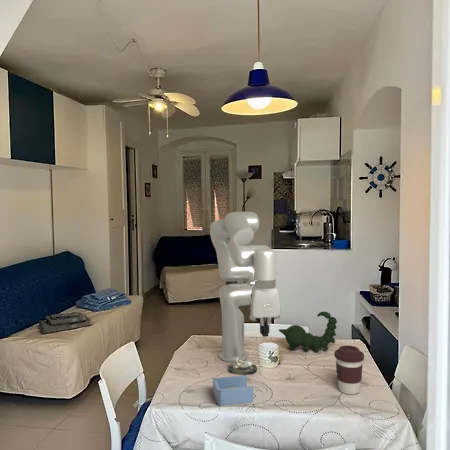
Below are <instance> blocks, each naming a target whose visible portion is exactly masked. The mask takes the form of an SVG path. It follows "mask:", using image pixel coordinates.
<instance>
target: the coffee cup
mask: <svg viewBox="0 0 450 450" xmlns="http://www.w3.org/2000/svg"><path fill="white" fill-rule="evenodd" d="M334 358H335V360H336V361H335V367H336V368H335V370H336V378H337V388H338V391H339V392H341V393H342V394H345V395H352V396H353V395H357V394H359V393H360V391H361V383H362V382H361V381H362V378H363V377H362V376H363V361H364V360H365V354H364V352H363V351H361V350H360V348H359V347H357V346H354V345H341V346H339V348H338V349H335V350H334Z"/></svg>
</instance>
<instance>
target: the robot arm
mask: <svg viewBox="0 0 450 450" xmlns="http://www.w3.org/2000/svg"><path fill="white" fill-rule="evenodd" d="M209 227H210V228H209V234H210V239H211V242H212V245H213V247H214V248H215V252H216V258H217V264H218V265H217V266H218V271H219V276H220V278H221V280H222V281H224V282H238V283H229V284H225V285H223V286H221V287H220V288H219V301H220V306H221V328H222V329H221V338H222V339H221V341H222V350H221V351H220V352H219V353H218V358H219V359H220V360H222V361H224V362H229V363H233V362H235V361H236V360H237V359H238V360H242V361H246V360H247V359H248V358H249V353H248V352H247V351H245V316H244V314H243V312H242V311H241V310H240V308H239V307H242V306H244V307H245V306H249V313H250V314H249V320H251V321H255V322H257V323H258V324H259V333H260V334H261V336H262V337H267V338H268V337H269V334H270V326H271V324H272V323H273V322H274V320H279V319H280V318H281V299H280V292H279V291H280V290H279V288H278V287H277V284H276V283H277V281H276V280H277V279H276V278H277V272H276V271H277V267H276V266H277V262H276V261H277V253H276V251H275V249H273V248H270V247H269V246H268V245H265V244H255V245H248V244H250V243H251V242H252V241H253V239H254V237H255V233H256V232H257V231H258V229H259V227H260V219H259V216H258V214H257V213H255V212H253V211H233V212H229V213H227V215H226V216H225V217H224V219H223V218H222V219H217V220H214V221H212V223H210V225H209ZM228 239H229V240H228ZM239 282H240V283H239ZM241 282H242V283H241Z"/></svg>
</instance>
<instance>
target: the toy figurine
mask: <svg viewBox="0 0 450 450" xmlns="http://www.w3.org/2000/svg"><path fill="white" fill-rule="evenodd" d="M316 316H317V317H321V316H322V317H324V318H325V319H326V320H327V319H328V320H327V321H328V322H327V323H326V329H325V330H324V333H323V334H322V335H321V336H318V335H313V334H311V333H310V332H306V330H305V329H304V327H303V326H300V325H296V324H294V325H293V324H292V325H290V326H288V328H283V329H282V328H280V329H278V331H279V333H281V334H283V335H284V336H285V341H286V342H287V344H288V348H289V349H290V350H291V351H295V350H296V348H299V347H302V348H303V350H304V351H305V352H309V351H310V349H312V350H313V351H314V353H316V354H317V353H319V351H320V350H321V349H323V351H328V350H329V344H330V343H332V344H335V343H336V340H335V336H336V335H337V333H336V331H335V330H337V327H338V326H337V323H338V320H337V319H336V318H335V316H332V315H331V313H330V312H328V311H319V313H318V314H317V315H316Z"/></svg>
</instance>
